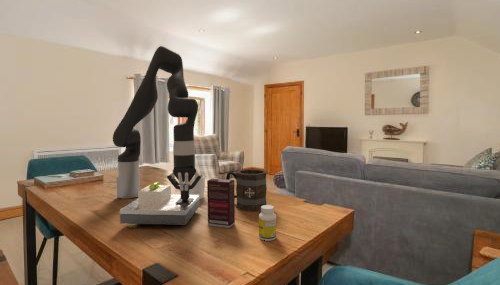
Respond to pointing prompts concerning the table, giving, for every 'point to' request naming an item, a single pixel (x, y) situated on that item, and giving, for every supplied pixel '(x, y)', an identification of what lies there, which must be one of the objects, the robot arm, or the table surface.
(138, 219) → the grey tray
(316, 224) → the table surface
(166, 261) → the table surface
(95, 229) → the table surface
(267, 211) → the supplement bottle
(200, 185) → the white cup
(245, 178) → the mug
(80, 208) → the table surface
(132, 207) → the plate
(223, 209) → the supplement box
